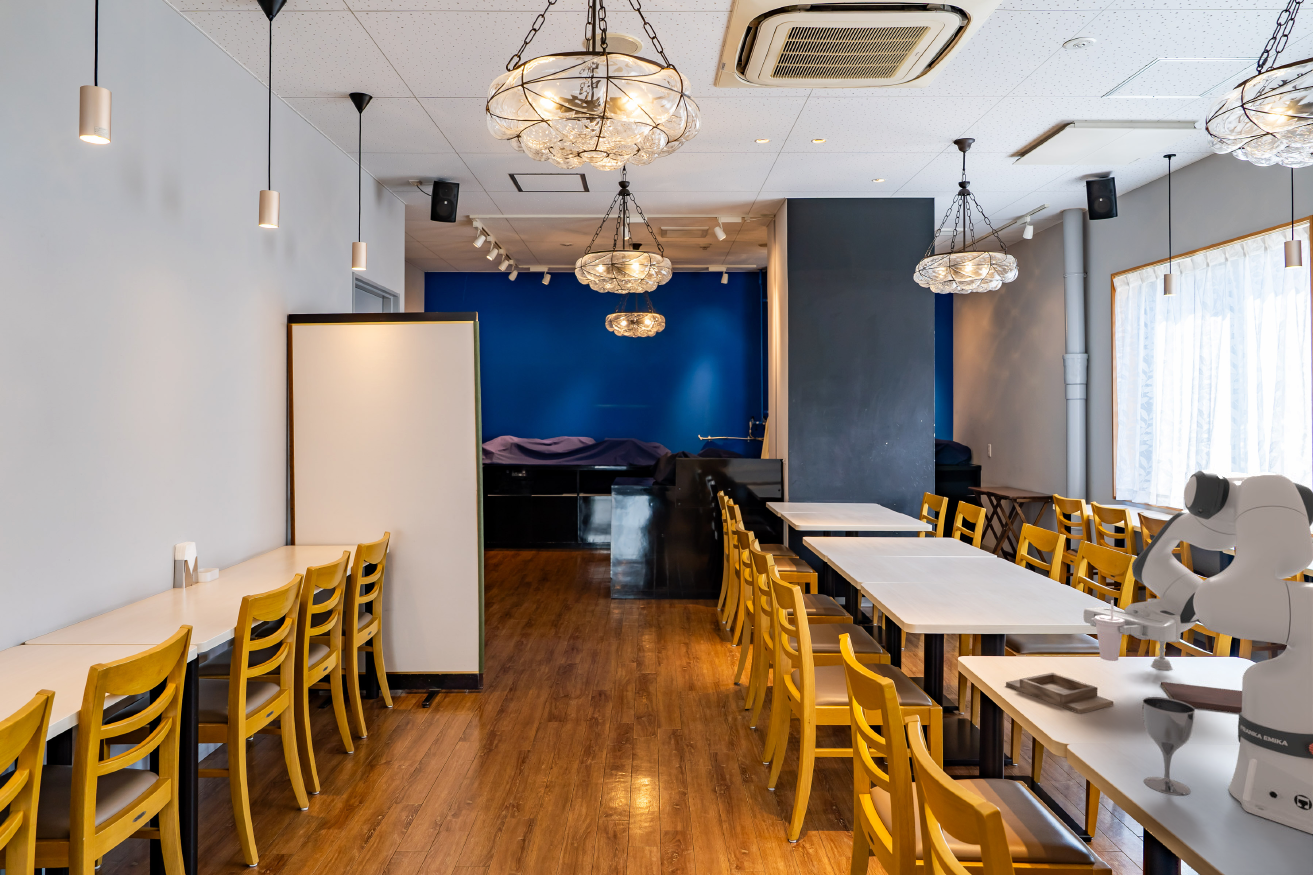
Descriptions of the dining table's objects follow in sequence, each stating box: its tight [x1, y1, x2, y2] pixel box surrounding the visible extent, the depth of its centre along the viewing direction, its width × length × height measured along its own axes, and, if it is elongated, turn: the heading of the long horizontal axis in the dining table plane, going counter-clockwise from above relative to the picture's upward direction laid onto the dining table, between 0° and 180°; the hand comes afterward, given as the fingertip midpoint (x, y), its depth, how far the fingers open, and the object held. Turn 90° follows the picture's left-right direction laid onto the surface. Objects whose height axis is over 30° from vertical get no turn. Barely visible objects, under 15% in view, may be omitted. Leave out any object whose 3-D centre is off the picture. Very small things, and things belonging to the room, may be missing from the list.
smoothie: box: [1094, 599, 1125, 662], centre depth 183 cm, size 6×6×14 cm
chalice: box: [1147, 598, 1174, 671], centre depth 208 cm, size 7×7×18 cm
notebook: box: [1160, 681, 1242, 714], centre depth 183 cm, size 15×20×2 cm
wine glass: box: [1141, 696, 1196, 796], centre depth 139 cm, size 8×8×15 cm
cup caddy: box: [1005, 672, 1114, 714], centre depth 186 cm, size 20×12×3 cm, turn 25°
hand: (1107, 626), depth 182 cm, fingers closed on smoothie, 6 cm apart
